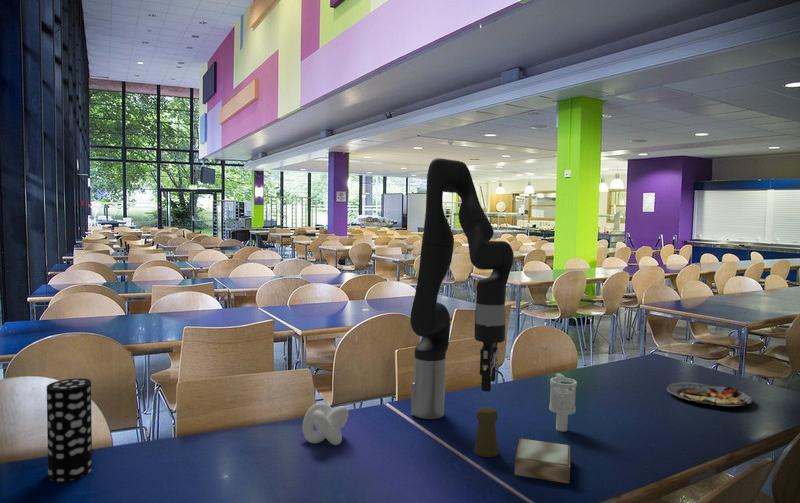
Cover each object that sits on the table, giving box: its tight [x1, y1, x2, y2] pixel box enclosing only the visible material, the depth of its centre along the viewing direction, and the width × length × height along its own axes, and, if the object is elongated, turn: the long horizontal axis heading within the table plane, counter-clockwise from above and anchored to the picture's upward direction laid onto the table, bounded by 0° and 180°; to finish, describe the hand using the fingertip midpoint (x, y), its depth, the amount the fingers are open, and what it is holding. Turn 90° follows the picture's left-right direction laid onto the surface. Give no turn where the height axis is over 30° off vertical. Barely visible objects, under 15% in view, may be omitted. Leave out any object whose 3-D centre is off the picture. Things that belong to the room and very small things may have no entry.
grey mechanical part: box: [548, 372, 578, 432], centre depth 149 cm, size 7×7×15 cm
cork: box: [473, 406, 499, 458], centre depth 133 cm, size 6×6×11 cm
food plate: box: [666, 381, 754, 408], centre depth 179 cm, size 25×23×4 cm
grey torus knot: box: [302, 402, 350, 446], centre depth 138 cm, size 11×12×9 cm
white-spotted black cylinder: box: [46, 377, 93, 482], centre depth 118 cm, size 8×8×20 cm
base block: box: [514, 438, 571, 484], centre depth 125 cm, size 12×12×4 cm
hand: (488, 385), depth 133 cm, fingers open, 8 cm apart
